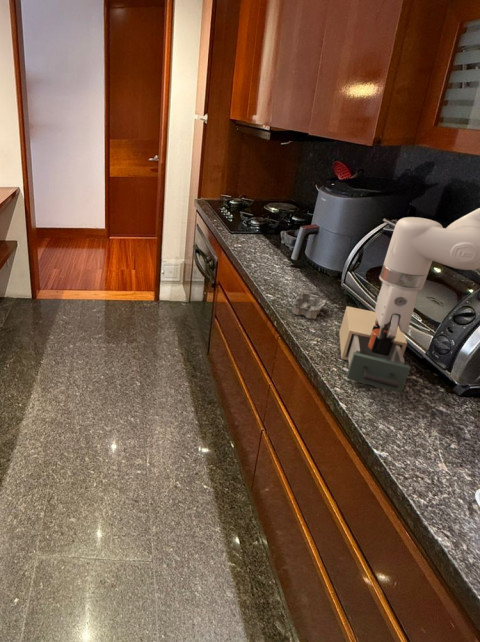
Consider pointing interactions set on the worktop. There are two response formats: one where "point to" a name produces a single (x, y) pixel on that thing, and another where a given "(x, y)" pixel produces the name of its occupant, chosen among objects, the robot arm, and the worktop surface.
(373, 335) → the orange cylinder
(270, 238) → the worktop surface
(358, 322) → the wooden drawer box
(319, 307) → the egg carton
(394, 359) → the green-fronted drawer
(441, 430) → the worktop surface
